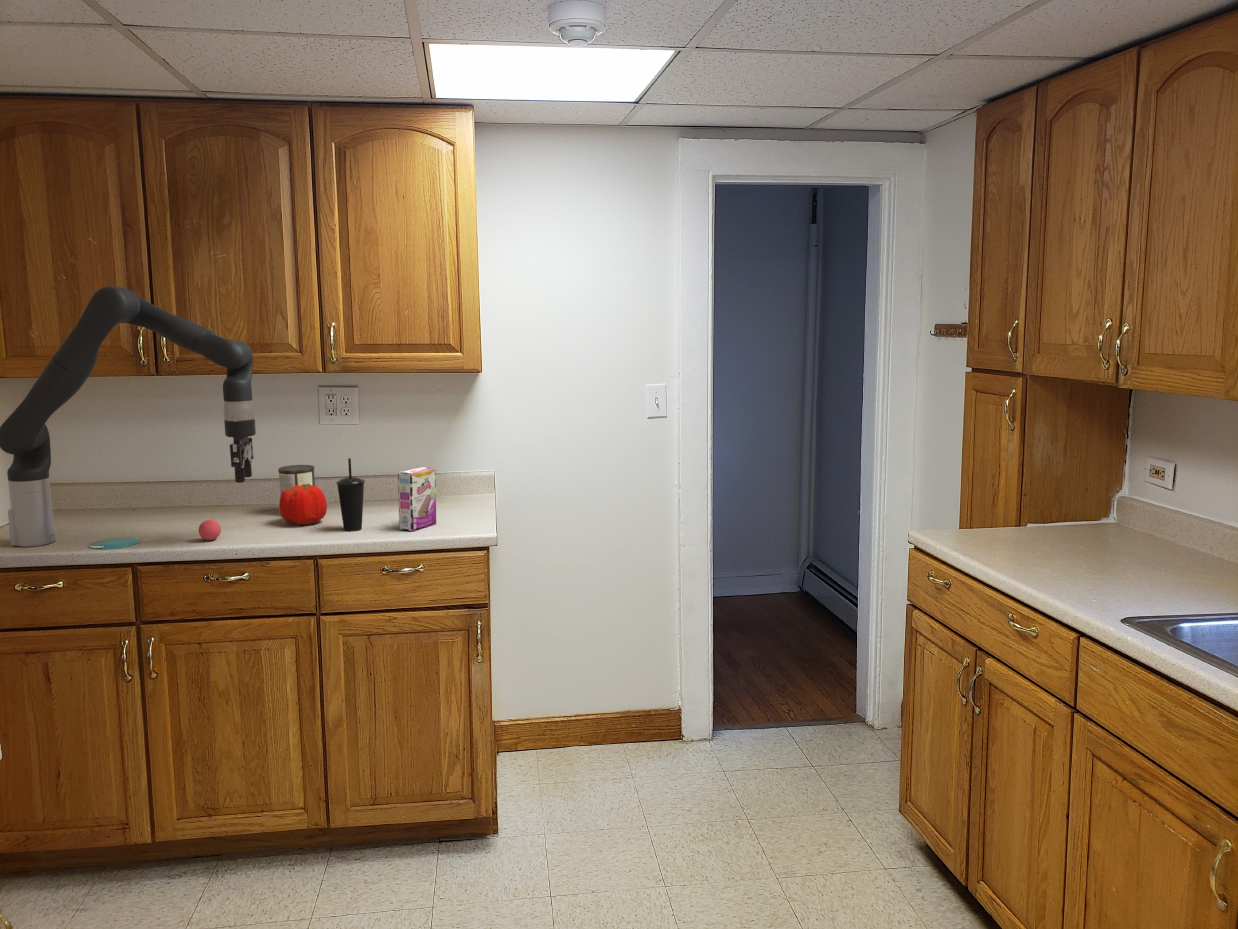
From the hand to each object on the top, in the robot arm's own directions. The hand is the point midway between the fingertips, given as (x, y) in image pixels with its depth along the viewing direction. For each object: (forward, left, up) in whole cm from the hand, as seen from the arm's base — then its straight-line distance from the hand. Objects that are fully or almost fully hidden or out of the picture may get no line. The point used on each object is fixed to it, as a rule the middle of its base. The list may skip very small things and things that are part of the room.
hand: (243, 479), depth 251 cm
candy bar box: (+44, +7, -16) cm, 48 cm away
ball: (-10, 0, -13) cm, 16 cm away
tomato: (+11, +18, -16) cm, 27 cm away
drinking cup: (+26, +7, -16) cm, 32 cm away
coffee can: (+7, +32, -16) cm, 37 cm away
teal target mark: (-34, 0, -16) cm, 37 cm away
